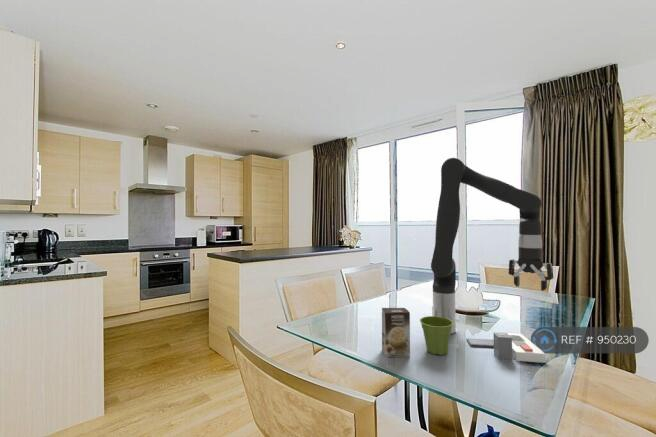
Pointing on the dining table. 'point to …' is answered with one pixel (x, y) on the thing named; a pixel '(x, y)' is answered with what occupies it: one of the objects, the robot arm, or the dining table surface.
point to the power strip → (525, 349)
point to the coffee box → (396, 332)
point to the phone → (480, 342)
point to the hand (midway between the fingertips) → (530, 288)
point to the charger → (503, 346)
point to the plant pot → (436, 333)
